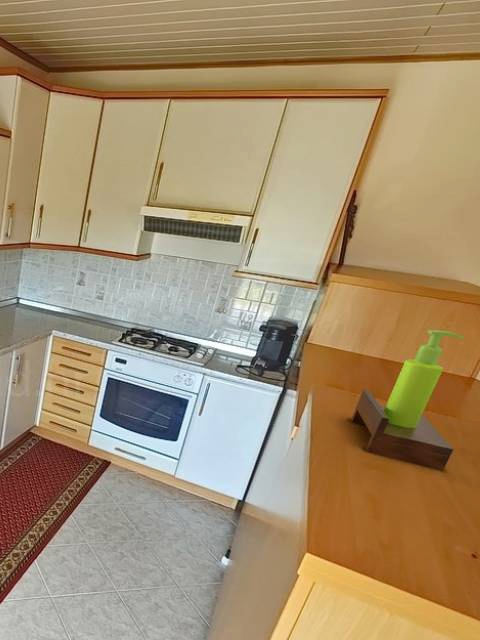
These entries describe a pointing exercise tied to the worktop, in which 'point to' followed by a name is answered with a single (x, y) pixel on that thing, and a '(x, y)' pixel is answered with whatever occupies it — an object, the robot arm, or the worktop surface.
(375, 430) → the wooden toy bed
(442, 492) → the worktop surface
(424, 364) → the soap dispenser
